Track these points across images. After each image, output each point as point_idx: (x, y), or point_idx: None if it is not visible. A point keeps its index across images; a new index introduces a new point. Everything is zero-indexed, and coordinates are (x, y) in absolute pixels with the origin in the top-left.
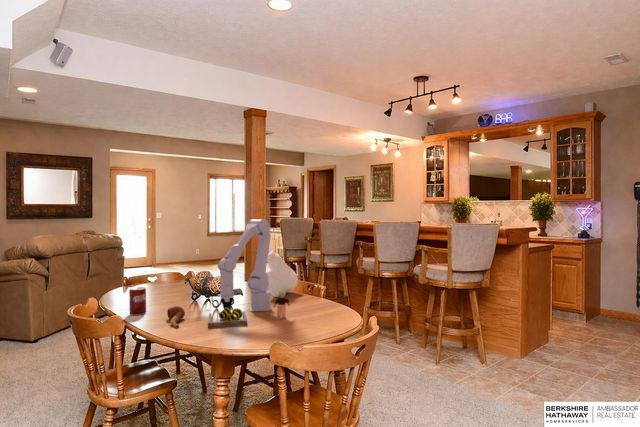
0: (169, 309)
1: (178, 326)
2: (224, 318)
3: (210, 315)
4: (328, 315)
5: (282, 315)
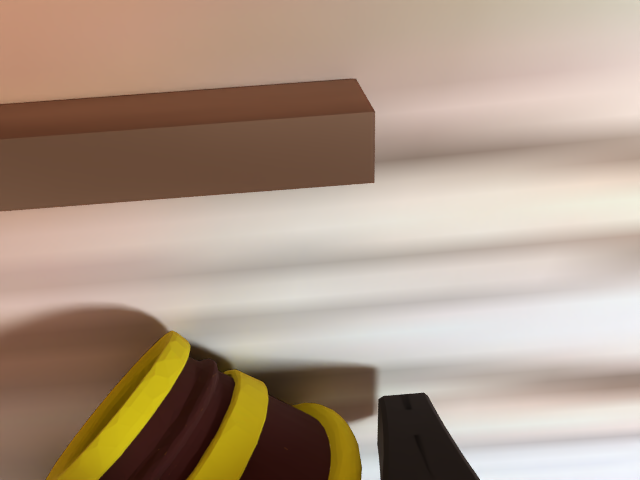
0: None
1: None
2: (114, 406)
3: (104, 183)
4: None
5: None
